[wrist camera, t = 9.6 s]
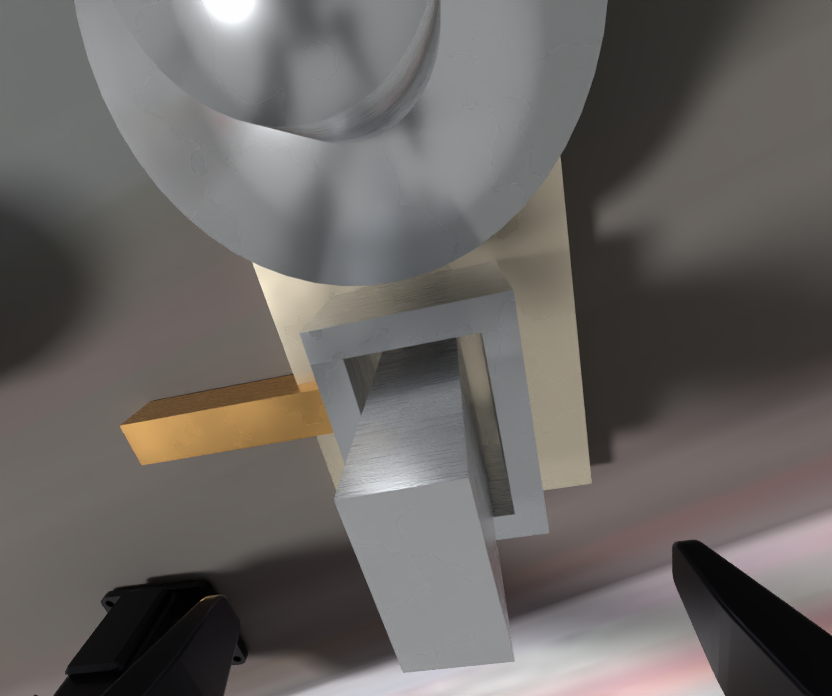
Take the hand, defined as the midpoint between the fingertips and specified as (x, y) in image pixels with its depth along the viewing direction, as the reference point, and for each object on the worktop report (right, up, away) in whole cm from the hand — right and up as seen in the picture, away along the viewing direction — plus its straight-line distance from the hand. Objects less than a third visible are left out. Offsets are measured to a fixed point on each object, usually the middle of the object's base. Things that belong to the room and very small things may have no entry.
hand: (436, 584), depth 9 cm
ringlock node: (-4, +8, +8) cm, 12 cm away
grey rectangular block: (0, +3, +8) cm, 9 cm away
